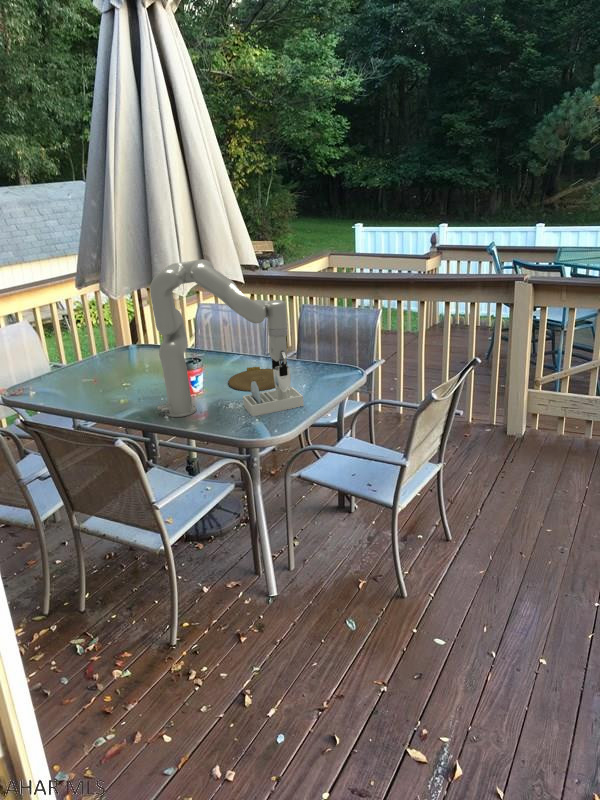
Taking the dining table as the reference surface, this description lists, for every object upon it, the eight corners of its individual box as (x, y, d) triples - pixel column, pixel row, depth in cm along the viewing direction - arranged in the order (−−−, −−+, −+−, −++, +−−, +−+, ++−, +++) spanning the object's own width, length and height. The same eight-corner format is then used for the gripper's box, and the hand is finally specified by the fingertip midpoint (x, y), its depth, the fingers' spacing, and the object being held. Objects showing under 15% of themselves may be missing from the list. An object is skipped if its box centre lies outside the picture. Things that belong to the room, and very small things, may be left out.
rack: (252, 416, 249) (249, 388, 245) (243, 406, 260) (240, 379, 256) (303, 406, 255) (301, 378, 251) (293, 396, 267) (291, 370, 263)
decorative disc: (237, 392, 273) (220, 371, 299) (237, 399, 274) (221, 377, 300) (298, 380, 282) (276, 361, 307) (298, 387, 283) (276, 367, 309)
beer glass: (274, 405, 256) (271, 370, 251) (277, 399, 262) (274, 365, 257) (291, 405, 255) (288, 370, 250) (293, 399, 261) (290, 365, 256)
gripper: (262, 328, 255) (264, 367, 261) (275, 337, 240) (277, 379, 245) (279, 325, 257) (281, 365, 263) (293, 335, 242) (295, 377, 248)
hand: (279, 372), depth 254 cm, fingers open, 9 cm apart
